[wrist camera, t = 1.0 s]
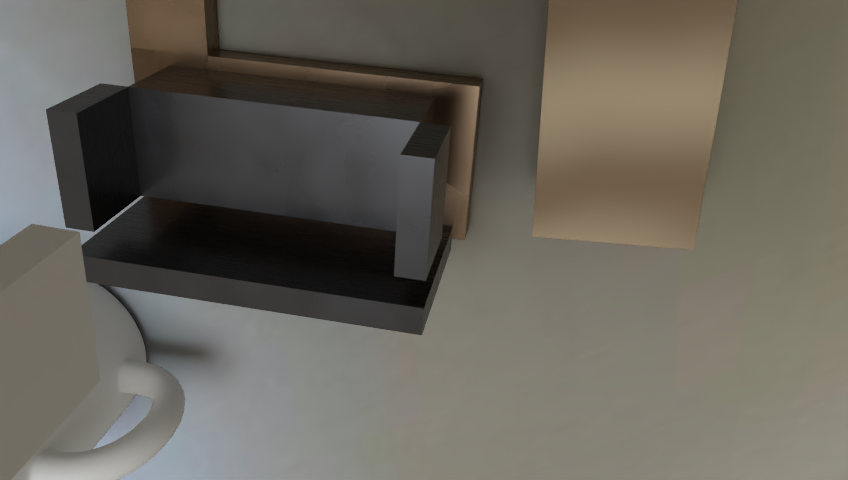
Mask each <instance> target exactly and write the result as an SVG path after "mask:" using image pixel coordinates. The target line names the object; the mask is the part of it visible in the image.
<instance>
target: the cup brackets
mask: <svg viewBox="0 0 848 480" xmlns="http://www.w3.org/2000/svg"><path fill="white" fill-rule="evenodd" d="M126 7H127V16H128V25H129V34H130V43H131V52H132V61H133V69H134V78H135V84H133V85H131V86H129V87H125V86H117V85H109V84H99V85H96V86H94V87H92V88H90V89H88V90H86V91H84V92H82V93H80V94H78V95H76V96H73V97H71V98H69V99H67V100H65V101H63V102H61V103H59V104H57V105H55V106H53V107H50V108H48V109H46V113H47V118H48V124H49V130H50V136H51V142H52V148H53V154H54V160H55V166H56V172H57V178H58V184H59V190H60V196H61V201H62V207H63V213H64V219H65V225H66V228H73V229H80V230H86V231H93V232H94V231H96V230H97V229H98V228H99V227H101V226H102V225H103V224H105V223H106V222H107V221H108V220H110V219H111V218H112V217H114V216H115V215H116V214H118V213H119V212H120V211H121V210H123V209H124V208H125V207H127V206H128V205H129V204H130V203H132V202H133V201H134V200H136V199H137V198H138V197H140V196H144V197H143V198H142V199H140V200H139V201H138V202H137V203H135V204H134V205H133V206H131V207H130V208H129V209H128V210H126V211H125V212H124V213H123V214H121V215H120V216H119V217H117V218H116V219H115V220H114V221H112V222H111V223H110V224H108V225H107V226H106V227H105V228H103V229H102V230H101V231H100V232H98V233H97V234H96V235H94V236H93V237H92V238H91V239H89V240H88V241H87V242H85V243H84V244H83V245H82V254H83V261H84V268H85V275H86V282H90V283H96V284H102V285H108V286H115V287H121V288H127V289H134V290H140V291H146V292H153V293H159V294H165V295H172V296H178V297H184V298H190V299H197V300H203V301H209V302H216V303H222V304H228V305H235V306H241V307H247V308H254V309H260V310H266V311H273V312H279V313H285V314H291V315H298V316H304V317H310V318H317V319H323V320H329V321H336V322H342V323H348V324H355V325H361V326H367V327H373V328H380V329H386V330H392V331H399V332H405V333H411V334H418V335H422V333H423V330H424V327H425V324H426V321H427V318H428V315H429V312H430V309H431V307H432V304H433V301H434V298H435V295H436V292H437V289H438V286H439V283H440V280H441V277H442V274H443V271H444V268H445V265H446V262H447V259H448V256H449V253H450V250H451V241H452V238H453V239H461V240H465V237H466V234H467V231H468V225H469V215H470V204H471V194H472V184H473V174H474V164H475V154H476V144H477V134H478V124H479V113H480V103H481V93H482V83H483V79H476V78H467V77H458V76H449V75H440V74H431V73H422V72H413V71H404V70H395V69H386V68H377V67H368V66H359V65H350V64H341V63H333V62H324V61H315V60H306V59H297V58H288V57H279V56H270V55H261V54H252V53H243V52H234V51H225V50H219V41H218V24H217V8H216V0H126Z"/></svg>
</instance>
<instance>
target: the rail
mask: <svg viewBox="0 0 848 480" xmlns="http://www.w3.org/2000/svg"><path fill="white" fill-rule="evenodd" d="M737 3H738V0H549V6H548V20H547V35H546V49H545V63H544V77H543V92H542V106H541V120H540V134H539V149H538V163H537V177H536V191H535V206H534V220H533V234H532V237H544V238H556V239H568V240H581V241H593V242H605V243H617V244H630V245H642V246H654V247H666V248H679V249H691V250H694V245H695V240H696V234H697V228H698V223H699V217H700V212H701V206H702V200H703V195H704V189H705V183H706V178H707V172H708V166H709V161H710V155H711V149H712V144H713V138H714V132H715V127H716V121H717V115H718V110H719V104H720V99H721V93H722V87H723V82H724V76H725V70H726V65H727V59H728V53H729V48H730V42H731V36H732V31H733V25H734V19H735V14H736V8H737Z"/></svg>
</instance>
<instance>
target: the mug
mask: <svg viewBox="0 0 848 480" xmlns="http://www.w3.org/2000/svg"><path fill="white" fill-rule="evenodd" d="M87 289H88V296H89V304H90V311H91V318H92V325H93V332H94V339H95V346H96V354H97V361H98V368H99V375H100V382H99V383H98V384H97V385H96V386H95V387H94V388H93V389H92V391H91V392H90V393H89V394H88V395H87V396H86V397H85V398H84V399H83V401H82V402H81V403H80V404H79V405H78V406H77V407H76V408H75V409H74V411H73V412H72V413H71V414H70V415H69V416H68V417H67V418H66V419H65V420H64V422H63V423H62V424H61V425H60V426H59V427H58V428H57V429H56V430H55V432H54V433H53V434H52V435H51V436H50V437H49V438H48V439H47V440H46V441H45V443H44V444H43V445H42V446H41V447H40V448H39V449H38V450H37V451H36V453H35V454H34V455H33V456H32V457H31V458H30V459H29V460H28V461H27V462H26V464H25V465H24V466H23V467H22V468H21V469H20V470H19V471H18V472H17V474H16V475H15V476H14V477H13V478H12V479H11V480H118V479H120V478H122V477H124V476H126V475H128V474H130V473H131V472H133V471H134V470H136V469H138V468H139V467H141V466H142V465H144V464H145V463H146V462H147V461H149V460H150V459H151V458H152V457H154V456H155V455H156V454H157V453H158V452H159V451H160V450H161V449H162V448H163V447H164V446H165V445H166V443H167V442H168V441H169V440H170V438H171V437H172V436H173V434H174V432H175V431H176V429H177V427H178V425H179V424H180V422H181V419H182V416H183V413H184V406H185V396H184V391H183V389H182V387H181V385H180V383H179V381H178V380H177V379H176V378H175V377H174V376H173V375H172V374H171V373H169V372H168V371H166V370H165V369H163V368H161V367H159V366H156V365H154V364H150V363H146V350H145V346H144V342H143V339H142V336H141V333H140V331H139V329H138V327H137V325H136V323H135V321H134V320H133V318H132V317H131V315H130V314H129V312H128V311H127V310H126V308H125V307H124V306H123V305H122V304H121V303H120V302H119V301H118V300H117V299H116V298H115V297H114V296H113V295H112V294H111V293H110V292H108V291H107V290H106V289H105V288H103V287H102V286H100V285H99V284H96V283H90V282H87ZM136 394H138V395H143V396H146V397H149V398H151V399H152V400H153V404H152V407H151V410H150V411H149V413H148V414H147V416H146V417H145V418H144V419H143V420H142V421H141V423H139V424H138V425H137V426H136V427H135V428H134V429H133V430H131V431H130V432H129V433H127V434H126V435H124V436H123V437H121V438H119V439H118V440H116V441H114V442H112V443H110V444H107V445H105V446H102V447H99V448H96V449H93V448H94V447H95V446H96V445H97V443H98V442H99V441H100V440H101V439H102V437H103V436H104V435H105V434H106V432H107V431H108V430H109V429H110V428H111V426H112V425H113V424H114V423H115V422H116V420H117V419H118V418H119V417H120V415H121V414H122V413H123V412H124V411H125V409H126V408H127V407H128V405H129V404H130V403H131V401H132V400H133V398H134V397H135V395H136ZM92 449H93V450H92Z"/></svg>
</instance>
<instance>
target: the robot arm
mask: <svg viewBox="0 0 848 480" xmlns="http://www.w3.org/2000/svg"><path fill="white" fill-rule="evenodd" d="M99 382H100V375H99V368H98V361H97V354H96V346H95V339H94V332H93V325H92V318H91V311H90V304H89V296H88V289H87V282H86V275H85V268H84V261H83V254H82V246H81V239H80V232H76V231H70V230H64V229H58V228H53V227H47V226H41V225H35V224H31V225H30V226H28V227H27V228H25V229H24V230H22V231H21V232H19V233H18V234H16V235H15V236H13V237H12V238H11V239H9V240H8V241H6V242H5V243H3V244H2V245H0V480H11V479H12V478H13V477H14V476H15V475H16V474H17V472H18V471H19V470H20V469H21V468H22V467H23V466H24V465H25V464H26V462H27V461H28V460H29V459H30V458H31V457H32V456H33V455H34V454H35V453H36V451H37V450H38V449H39V448H40V447H41V446H42V445H43V444H44V443H45V441H46V440H47V439H48V438H49V437H50V436H51V435H52V434H53V433H54V432H55V430H56V429H57V428H58V427H59V426H60V425H61V424H62V423H63V422H64V420H65V419H66V418H67V417H68V416H69V415H70V414H71V413H72V412H73V411H74V409H75V408H76V407H77V406H78V405H79V404H80V403H81V402H82V401H83V399H84V398H85V397H86V396H87V395H88V394H89V393H90V392H91V391H92V389H93V388H94V387H95V386H96V385H97V384H98V383H99Z"/></svg>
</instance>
